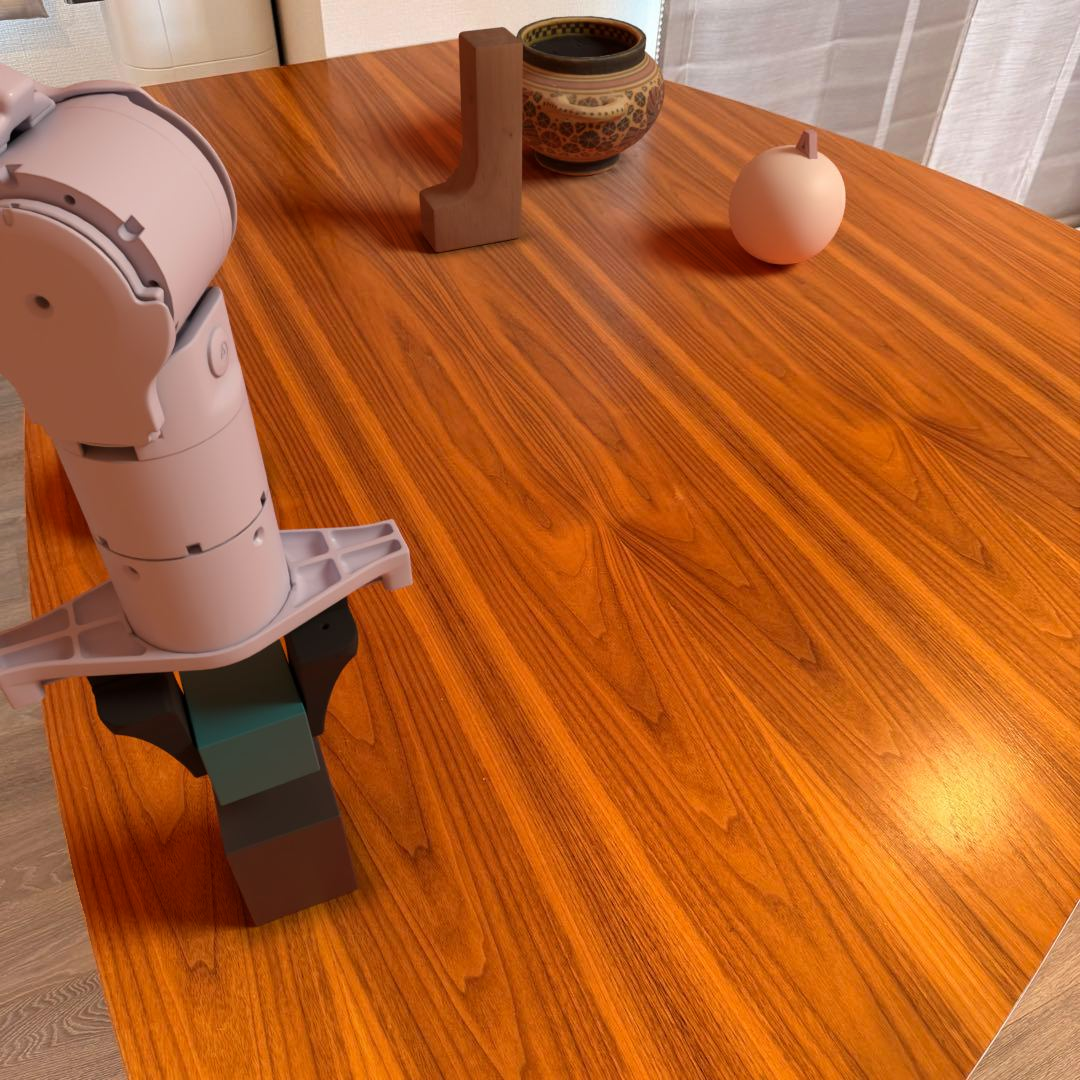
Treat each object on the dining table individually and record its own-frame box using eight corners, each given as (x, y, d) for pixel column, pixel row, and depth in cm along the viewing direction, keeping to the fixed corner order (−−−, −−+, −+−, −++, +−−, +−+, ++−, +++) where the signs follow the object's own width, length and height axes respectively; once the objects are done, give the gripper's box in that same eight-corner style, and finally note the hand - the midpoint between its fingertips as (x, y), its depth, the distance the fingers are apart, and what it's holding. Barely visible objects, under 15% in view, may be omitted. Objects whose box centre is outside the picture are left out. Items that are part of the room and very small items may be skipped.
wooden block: (435, 254, 92) (423, 53, 80) (420, 233, 95) (406, 36, 83) (522, 238, 95) (524, 41, 82) (505, 218, 98) (505, 25, 85)
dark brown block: (255, 927, 46) (225, 855, 41) (237, 837, 49) (206, 760, 44) (359, 889, 47) (341, 816, 42) (334, 804, 51) (314, 727, 46)
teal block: (220, 807, 40) (197, 749, 37) (201, 728, 43) (177, 669, 40) (320, 770, 41) (305, 712, 38) (295, 697, 44) (279, 637, 41)
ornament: (849, 255, 94) (882, 130, 85) (793, 295, 88) (823, 165, 80) (759, 221, 99) (782, 99, 90) (701, 257, 93) (719, 130, 85)
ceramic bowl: (517, 138, 119) (484, 7, 109) (661, 102, 116) (640, -35, 106) (518, 234, 102) (478, 89, 91) (687, 194, 99) (665, 41, 89)
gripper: (356, 382, 37) (389, 619, 46) (-68, 484, 32) (65, 723, 42) (420, 496, 32) (442, 733, 42) (-63, 634, 28) (85, 864, 37)
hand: (256, 737), depth 41 cm, fingers closed on teal block, 4 cm apart
